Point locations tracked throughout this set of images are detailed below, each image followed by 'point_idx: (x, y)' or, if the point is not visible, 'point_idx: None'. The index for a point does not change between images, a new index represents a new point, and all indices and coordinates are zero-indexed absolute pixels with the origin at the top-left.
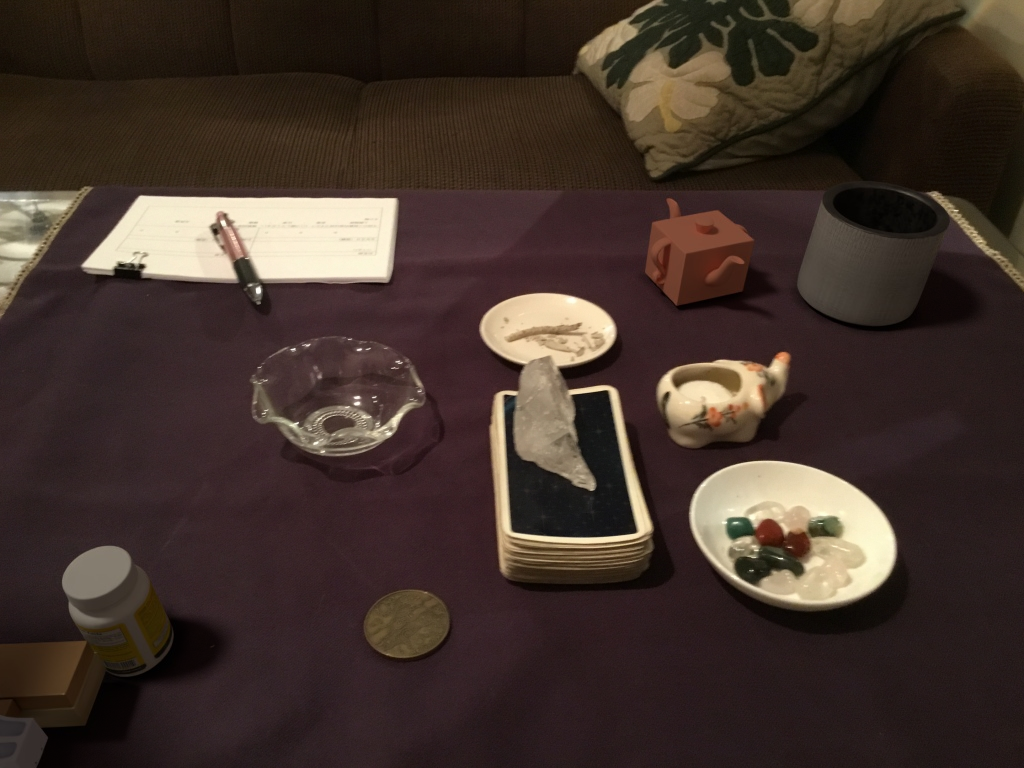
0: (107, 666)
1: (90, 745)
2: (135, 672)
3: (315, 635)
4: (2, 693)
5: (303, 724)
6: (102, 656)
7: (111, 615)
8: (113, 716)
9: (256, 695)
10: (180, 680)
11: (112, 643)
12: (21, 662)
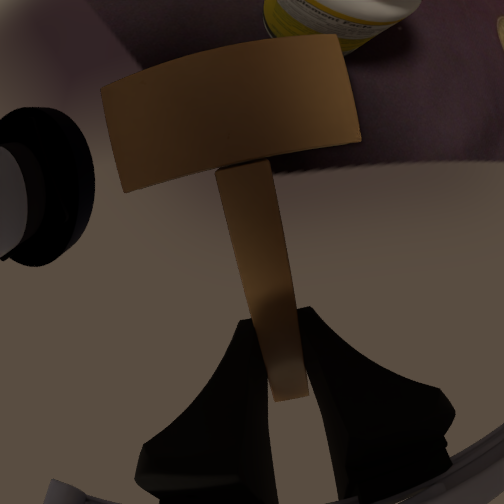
0: None
1: (324, 152)
2: None
3: (477, 39)
4: (240, 152)
5: (496, 129)
6: None
7: (406, 4)
8: None
9: (461, 94)
10: (388, 67)
11: (365, 36)
12: (235, 86)
